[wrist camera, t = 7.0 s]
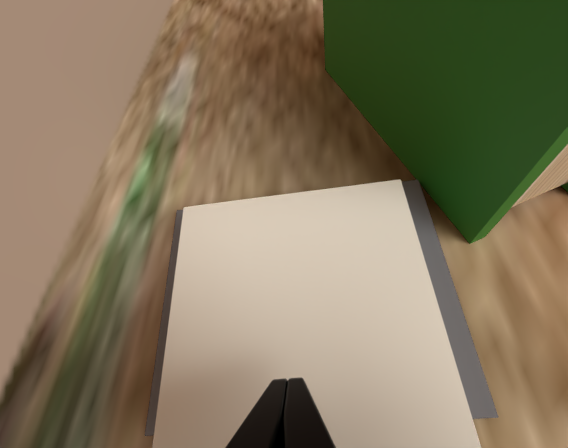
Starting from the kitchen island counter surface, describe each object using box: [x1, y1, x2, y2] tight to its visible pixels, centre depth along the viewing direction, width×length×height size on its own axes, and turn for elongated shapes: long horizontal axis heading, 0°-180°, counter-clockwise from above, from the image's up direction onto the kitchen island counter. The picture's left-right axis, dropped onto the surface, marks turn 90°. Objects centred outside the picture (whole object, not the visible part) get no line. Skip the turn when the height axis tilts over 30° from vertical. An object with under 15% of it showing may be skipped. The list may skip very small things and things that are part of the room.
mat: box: [145, 180, 498, 436], centre depth 16 cm, size 12×15×1 cm
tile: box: [152, 179, 481, 448], centre depth 14 cm, size 3×11×11 cm
